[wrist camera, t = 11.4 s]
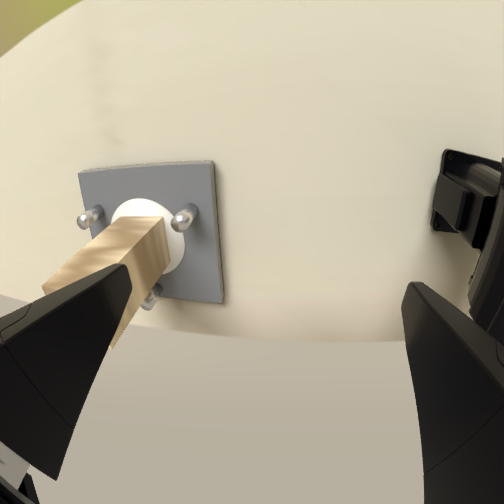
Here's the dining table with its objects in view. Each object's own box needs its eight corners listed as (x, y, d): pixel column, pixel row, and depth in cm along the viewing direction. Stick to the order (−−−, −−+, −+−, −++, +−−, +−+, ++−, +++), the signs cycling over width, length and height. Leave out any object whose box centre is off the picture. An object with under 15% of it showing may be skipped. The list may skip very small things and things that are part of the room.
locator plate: (213, 160, 20) (197, 172, 17) (224, 296, 26) (214, 322, 23) (84, 170, 22) (59, 182, 19) (112, 283, 28) (95, 304, 24)
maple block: (163, 216, 21) (88, 295, 13) (170, 261, 23) (112, 349, 15) (120, 216, 22) (41, 286, 13) (130, 258, 24) (65, 335, 15)
